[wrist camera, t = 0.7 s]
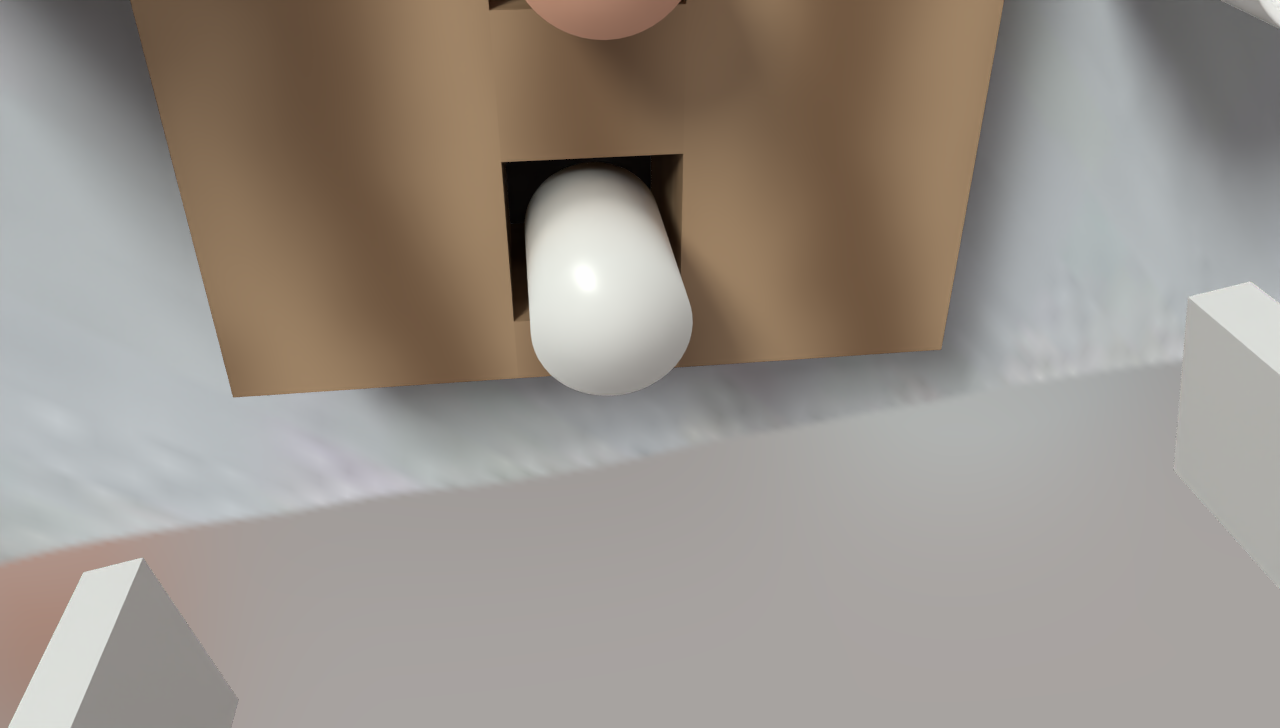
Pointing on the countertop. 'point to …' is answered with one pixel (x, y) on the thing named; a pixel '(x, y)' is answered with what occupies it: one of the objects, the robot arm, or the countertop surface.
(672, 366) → the white glossy ovoid
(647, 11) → the terracotta plug
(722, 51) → the walnut block
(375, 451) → the countertop surface
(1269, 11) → the white cup
